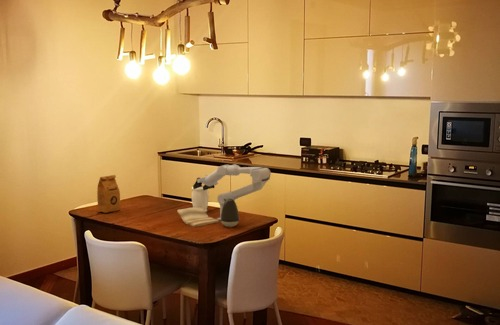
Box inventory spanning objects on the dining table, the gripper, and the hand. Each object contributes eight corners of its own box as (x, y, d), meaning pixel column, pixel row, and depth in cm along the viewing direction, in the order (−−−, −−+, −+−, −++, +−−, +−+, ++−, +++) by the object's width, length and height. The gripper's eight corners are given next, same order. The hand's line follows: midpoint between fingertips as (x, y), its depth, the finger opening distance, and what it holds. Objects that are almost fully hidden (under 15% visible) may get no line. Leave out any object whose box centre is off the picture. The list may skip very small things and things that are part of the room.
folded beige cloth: (218, 222, 292) (218, 220, 291) (195, 226, 281) (195, 224, 281) (209, 219, 298) (209, 217, 298) (185, 223, 288) (185, 221, 288)
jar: (200, 214, 310) (200, 189, 308) (188, 211, 316) (187, 187, 314) (212, 210, 318) (212, 186, 316) (199, 208, 325) (199, 184, 322)
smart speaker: (231, 222, 291) (231, 195, 289) (243, 226, 283) (243, 199, 281) (216, 225, 285) (216, 198, 283) (227, 229, 277) (227, 201, 275)
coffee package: (123, 211, 317) (121, 175, 314) (105, 214, 308) (103, 177, 304) (113, 208, 323) (112, 173, 320) (95, 211, 314) (94, 175, 311)
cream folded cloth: (208, 218, 299) (208, 216, 299) (184, 222, 289) (185, 221, 288) (200, 207, 304) (201, 205, 304) (177, 211, 294) (177, 209, 293)
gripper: (220, 172, 306) (205, 183, 314) (202, 170, 296) (187, 180, 303) (223, 183, 304) (208, 193, 311) (205, 181, 293) (190, 191, 300)
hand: (198, 188), depth 307 cm, fingers open, 7 cm apart
